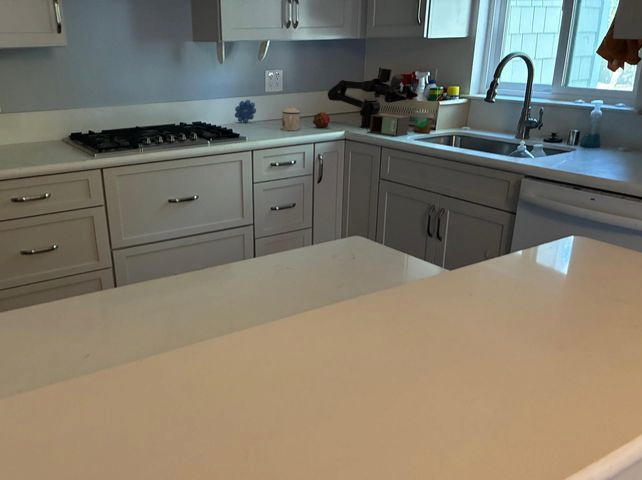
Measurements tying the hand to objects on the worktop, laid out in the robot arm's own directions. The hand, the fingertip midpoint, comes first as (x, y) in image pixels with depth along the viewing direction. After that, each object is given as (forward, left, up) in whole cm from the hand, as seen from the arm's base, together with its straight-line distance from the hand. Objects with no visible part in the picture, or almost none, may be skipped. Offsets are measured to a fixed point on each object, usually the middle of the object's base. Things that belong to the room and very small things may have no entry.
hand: (412, 97), depth 304 cm
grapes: (-77, -40, -18) cm, 88 cm away
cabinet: (-6, -9, -18) cm, 21 cm away
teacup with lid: (-44, -40, -18) cm, 62 cm away
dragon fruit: (-40, -20, -18) cm, 49 cm away
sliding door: (-3, -15, -17) cm, 23 cm away
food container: (+2, +8, -18) cm, 20 cm away
